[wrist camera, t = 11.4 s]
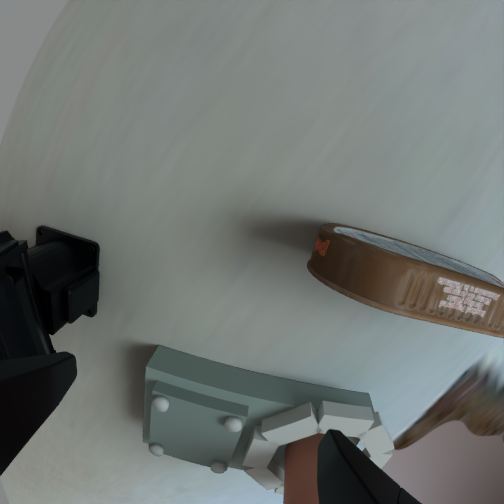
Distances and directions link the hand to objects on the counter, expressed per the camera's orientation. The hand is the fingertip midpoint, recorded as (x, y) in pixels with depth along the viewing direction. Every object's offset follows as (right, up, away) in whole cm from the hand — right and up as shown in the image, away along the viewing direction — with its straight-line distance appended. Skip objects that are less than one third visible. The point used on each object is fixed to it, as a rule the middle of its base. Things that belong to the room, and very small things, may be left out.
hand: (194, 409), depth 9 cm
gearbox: (+3, -10, +16) cm, 19 cm away
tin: (+13, +5, +11) cm, 18 cm away
